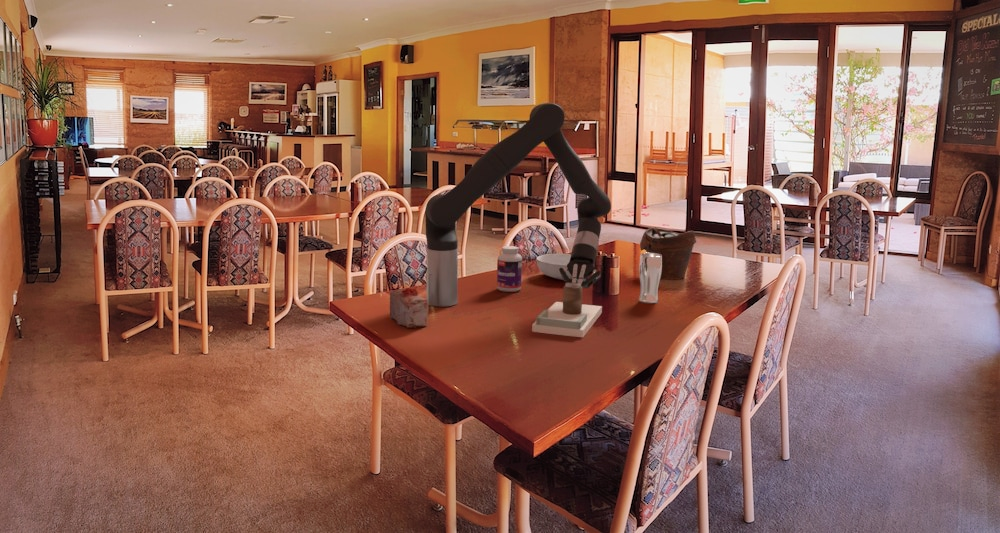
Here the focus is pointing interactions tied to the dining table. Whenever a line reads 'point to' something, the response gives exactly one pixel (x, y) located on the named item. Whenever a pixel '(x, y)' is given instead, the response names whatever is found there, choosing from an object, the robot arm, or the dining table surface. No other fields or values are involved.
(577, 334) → the board
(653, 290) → the beer glass
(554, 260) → the serving bowl
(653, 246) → the brown bucket
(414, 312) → the grey stone block
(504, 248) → the pill bottle
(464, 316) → the dining table surface
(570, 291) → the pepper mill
